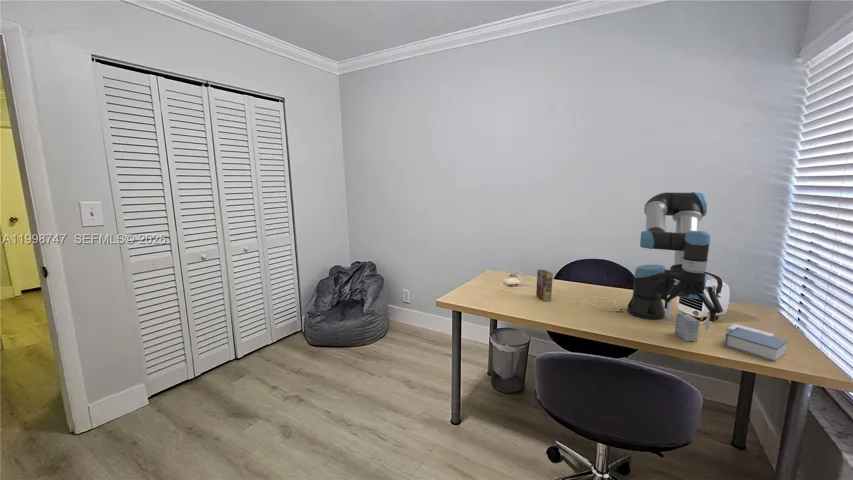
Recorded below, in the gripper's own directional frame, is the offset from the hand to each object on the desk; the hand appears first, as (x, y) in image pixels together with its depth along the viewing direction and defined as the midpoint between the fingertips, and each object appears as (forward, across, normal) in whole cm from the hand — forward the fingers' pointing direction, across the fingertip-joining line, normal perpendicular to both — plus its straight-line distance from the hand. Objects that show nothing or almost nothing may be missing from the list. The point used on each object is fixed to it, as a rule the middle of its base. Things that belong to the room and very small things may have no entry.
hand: (687, 322), depth 136 cm
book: (+7, +18, +10) cm, 22 cm away
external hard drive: (+7, +12, +27) cm, 30 cm away
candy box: (+6, -62, -10) cm, 63 cm away
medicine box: (+7, 0, 0) cm, 7 cm away
